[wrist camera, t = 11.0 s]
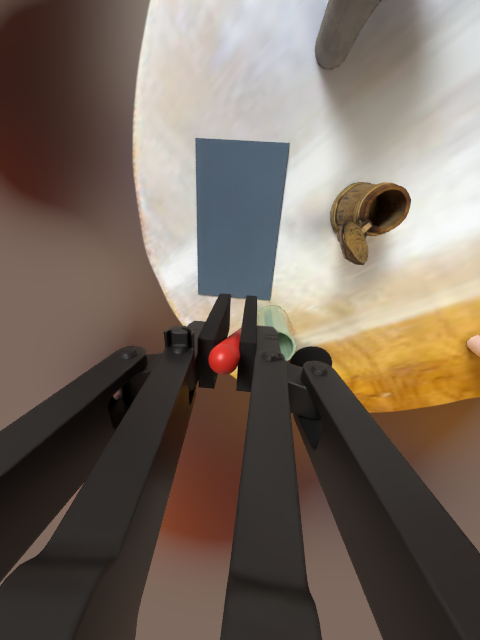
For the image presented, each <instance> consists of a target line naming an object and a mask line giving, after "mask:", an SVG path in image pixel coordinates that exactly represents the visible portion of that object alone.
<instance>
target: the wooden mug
mask: <svg viewBox="0 0 480 640" xmlns="http://www.w3.org/2000/svg"><path fill="white" fill-rule="evenodd" d="M410 204H411V198H410V196H409V193H408V192H407V190H406V189H405V188H403V187H402V186H398V185H396V184H394V183H380V184H371V183H365V182H358V183H354V184H351V185H350V186H348V187H346V188H345V189H344V190H343V191H342V192H341V193H340V194H339V195H338V196H337V198H336V200H335V201H334V203H333V205H332V209H331V223H332V226H333V229H334V230H335V232H336V233H338V241H339V242H340V245H341V249H342V253H343V256H344V258H345V259H347V260H348V261H350V262H352V263H354V264H357V265H364V263H365V262H366V261H367V258H368V247H367V243H366V240H365V238H366V236H378V235H381V234H384V233H386V232H389V231H390V230H392V229H394V228H395V227H397V226H398V225H400V224H401V223H402V222H403V220H404V219H405V218H406V216H407V214H408V212H409V208H410Z"/></svg>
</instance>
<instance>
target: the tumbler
mask: <svg viewBox="0 0 480 640" xmlns="http://www.w3.org/2000/svg"><path fill="white" fill-rule="evenodd" d="M257 325H260V326H272V327H274V328H275V329H276V330H277V333H278V339H279V344H280V350H281V353H282V354H283V355H284V357H285V360H286V361H288V360H290V359H291V358H292V356H293V355H294V353H295V350H296V343H295V340H294V336H293V333H292V330H291V327H290V323H289V320H288V317H287V314H286V312H285V311H284V310H283V309H282V308H280V307H278V306H267V307H264V308H262V309H261V310H260V311H259V312H258V314H257Z"/></svg>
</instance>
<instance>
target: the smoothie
mask: <svg viewBox="0 0 480 640" xmlns="http://www.w3.org/2000/svg"><path fill="white" fill-rule="evenodd" d="M466 346H467V347H468V348H469V349H470V350H471V351H472V352H474V353H475V354H476V355H477V356H478V357H480V335H476V336H473V337H471V338H470V339H469V340H468V341H467V344H466Z"/></svg>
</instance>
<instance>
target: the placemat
mask: <svg viewBox="0 0 480 640" xmlns="http://www.w3.org/2000/svg"><path fill="white" fill-rule="evenodd" d="M288 151H289V143H277V142H258V141H240V140H221V139H203V138H196V188H197V246H198V294H201V295H213V296H219V295H220V293H224V294H231V297H237V298H246V295H250V296H257V299H261V300H270V295H271V287H272V279H273V271H274V263H275V255H276V247H277V239H278V231H279V223H280V215H281V207H282V199H283V191H284V183H285V175H286V167H287V159H288Z"/></svg>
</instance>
